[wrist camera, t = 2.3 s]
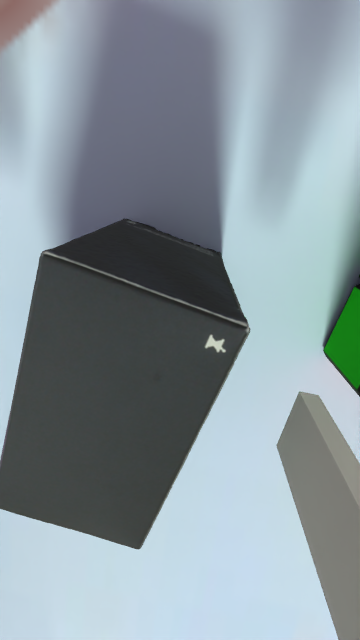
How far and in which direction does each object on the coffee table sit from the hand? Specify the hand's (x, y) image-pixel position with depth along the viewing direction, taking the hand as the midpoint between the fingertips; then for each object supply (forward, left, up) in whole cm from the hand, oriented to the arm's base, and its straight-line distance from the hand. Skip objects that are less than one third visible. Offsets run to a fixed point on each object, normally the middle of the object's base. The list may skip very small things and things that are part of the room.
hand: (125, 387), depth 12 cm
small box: (0, 0, -8) cm, 8 cm away
